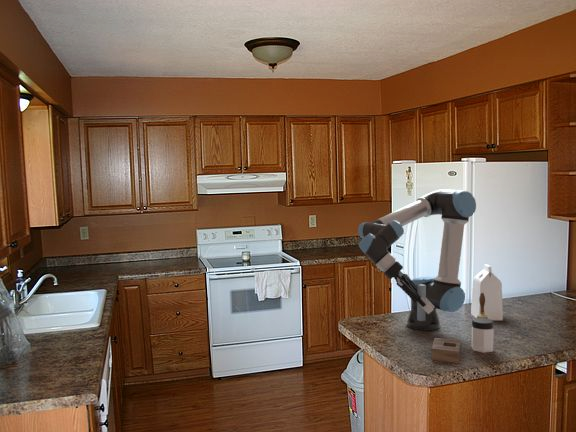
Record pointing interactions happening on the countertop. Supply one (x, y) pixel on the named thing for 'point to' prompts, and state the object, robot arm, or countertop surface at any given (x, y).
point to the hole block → (446, 350)
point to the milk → (487, 294)
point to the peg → (420, 310)
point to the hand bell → (482, 306)
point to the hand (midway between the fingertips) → (431, 310)
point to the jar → (482, 335)
